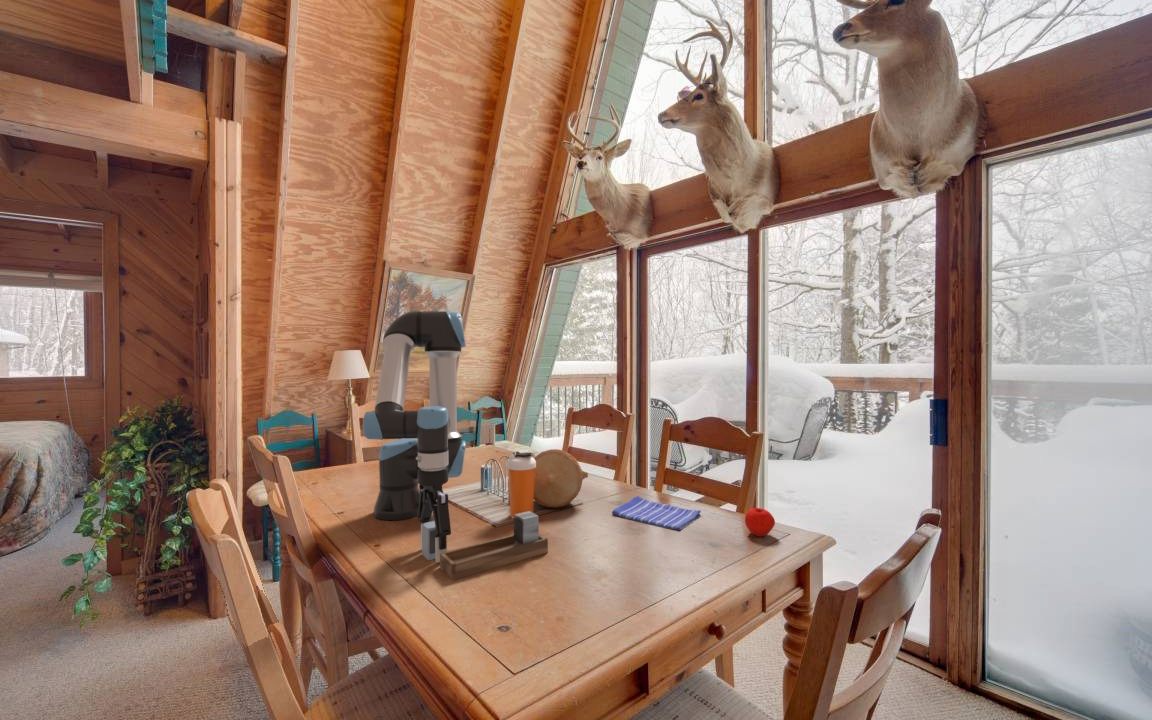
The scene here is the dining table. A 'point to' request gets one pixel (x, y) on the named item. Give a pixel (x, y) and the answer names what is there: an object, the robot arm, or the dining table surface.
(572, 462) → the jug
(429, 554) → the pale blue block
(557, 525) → the dining table surface
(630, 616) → the dining table surface
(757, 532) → the apple
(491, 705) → the dining table surface
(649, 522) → the dish towel
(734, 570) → the dining table surface
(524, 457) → the shaker bottle
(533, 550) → the rail
